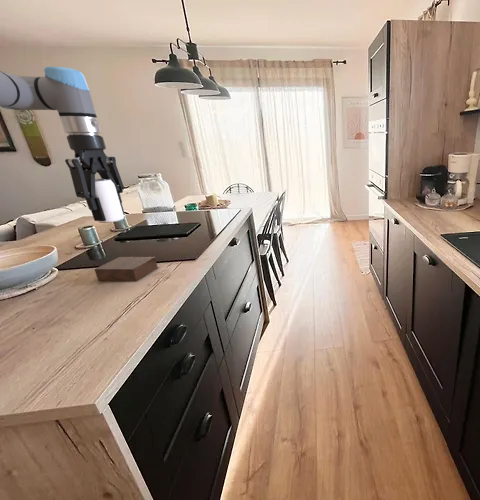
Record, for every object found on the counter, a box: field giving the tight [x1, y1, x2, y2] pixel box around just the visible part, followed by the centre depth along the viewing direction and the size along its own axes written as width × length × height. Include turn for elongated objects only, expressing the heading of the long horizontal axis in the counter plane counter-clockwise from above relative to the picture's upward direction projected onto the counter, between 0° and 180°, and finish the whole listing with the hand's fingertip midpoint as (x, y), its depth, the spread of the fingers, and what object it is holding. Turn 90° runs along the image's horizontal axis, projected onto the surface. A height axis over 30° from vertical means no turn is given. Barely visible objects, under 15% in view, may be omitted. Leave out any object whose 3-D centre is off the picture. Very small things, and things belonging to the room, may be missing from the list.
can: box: [89, 178, 125, 224], centre depth 84 cm, size 6×6×12 cm
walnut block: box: [94, 256, 159, 282], centre depth 92 cm, size 12×10×4 cm
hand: (110, 217), depth 86 cm, fingers closed on can, 6 cm apart
